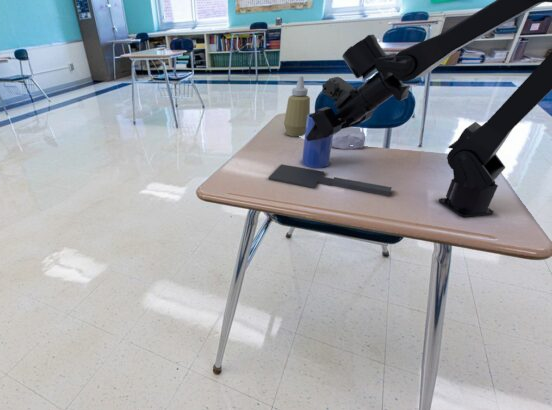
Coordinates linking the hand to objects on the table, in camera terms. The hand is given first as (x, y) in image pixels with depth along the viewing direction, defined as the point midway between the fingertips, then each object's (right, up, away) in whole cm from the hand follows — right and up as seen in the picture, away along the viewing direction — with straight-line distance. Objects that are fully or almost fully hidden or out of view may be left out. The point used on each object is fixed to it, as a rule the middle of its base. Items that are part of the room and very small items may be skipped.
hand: (317, 134), depth 83 cm
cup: (+1, -7, +4) cm, 8 cm away
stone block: (+13, +1, +16) cm, 21 cm away
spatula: (0, -13, -7) cm, 14 cm away
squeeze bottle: (+1, +5, +25) cm, 26 cm away
